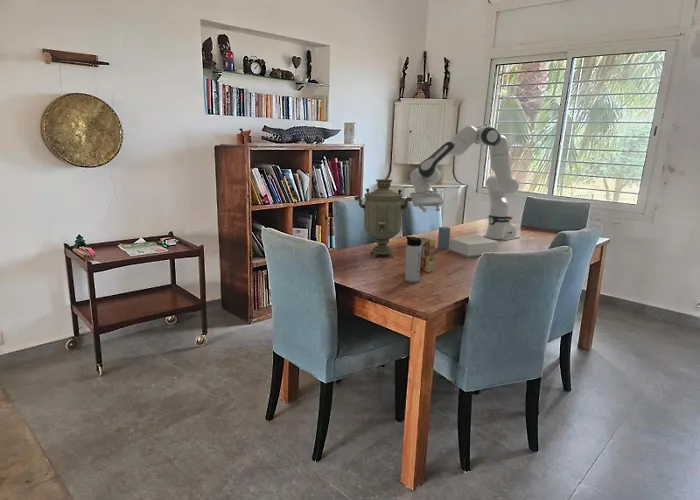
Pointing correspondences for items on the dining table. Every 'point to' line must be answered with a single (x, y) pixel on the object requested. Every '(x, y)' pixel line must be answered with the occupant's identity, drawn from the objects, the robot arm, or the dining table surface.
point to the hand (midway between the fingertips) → (431, 211)
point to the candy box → (427, 254)
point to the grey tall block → (443, 237)
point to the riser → (472, 245)
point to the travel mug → (413, 259)
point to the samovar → (382, 215)
